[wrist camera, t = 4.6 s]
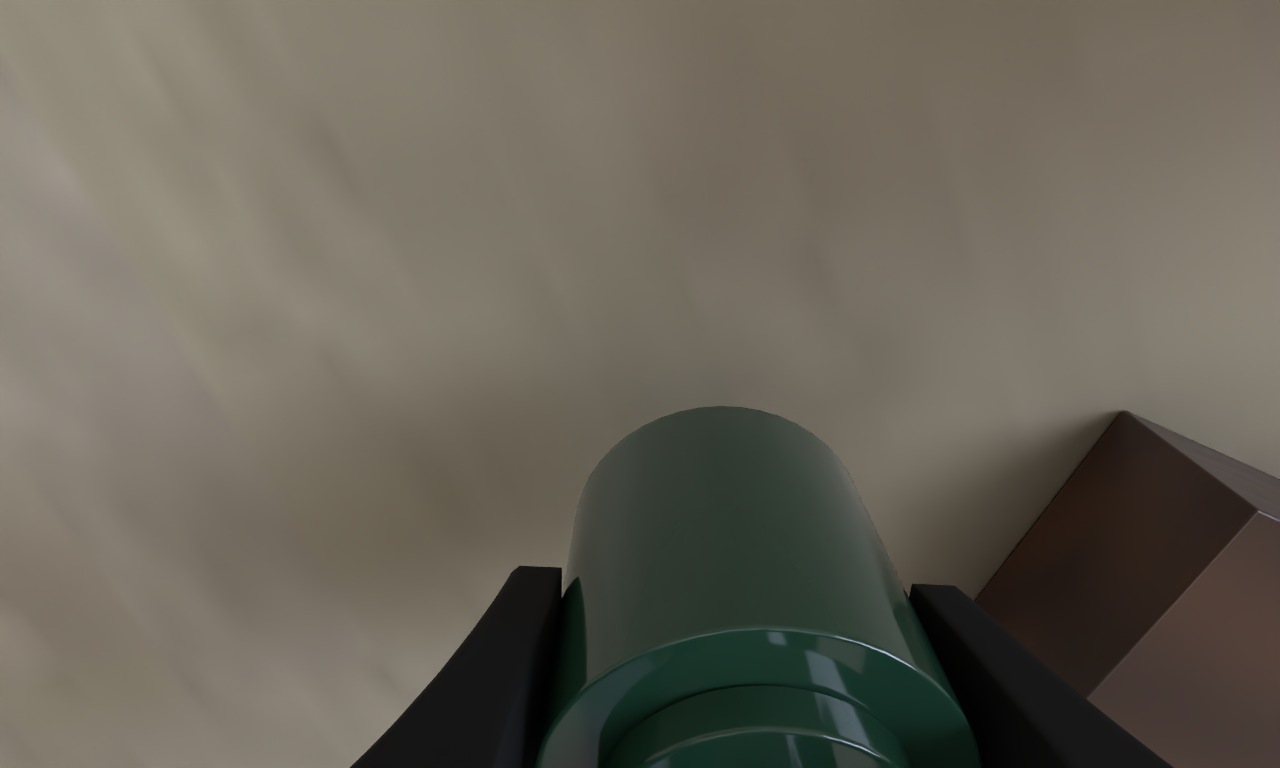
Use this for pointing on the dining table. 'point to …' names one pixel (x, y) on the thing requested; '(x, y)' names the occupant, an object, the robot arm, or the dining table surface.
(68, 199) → the dining table surface
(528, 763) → the robot arm
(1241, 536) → the block
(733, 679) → the bottle
